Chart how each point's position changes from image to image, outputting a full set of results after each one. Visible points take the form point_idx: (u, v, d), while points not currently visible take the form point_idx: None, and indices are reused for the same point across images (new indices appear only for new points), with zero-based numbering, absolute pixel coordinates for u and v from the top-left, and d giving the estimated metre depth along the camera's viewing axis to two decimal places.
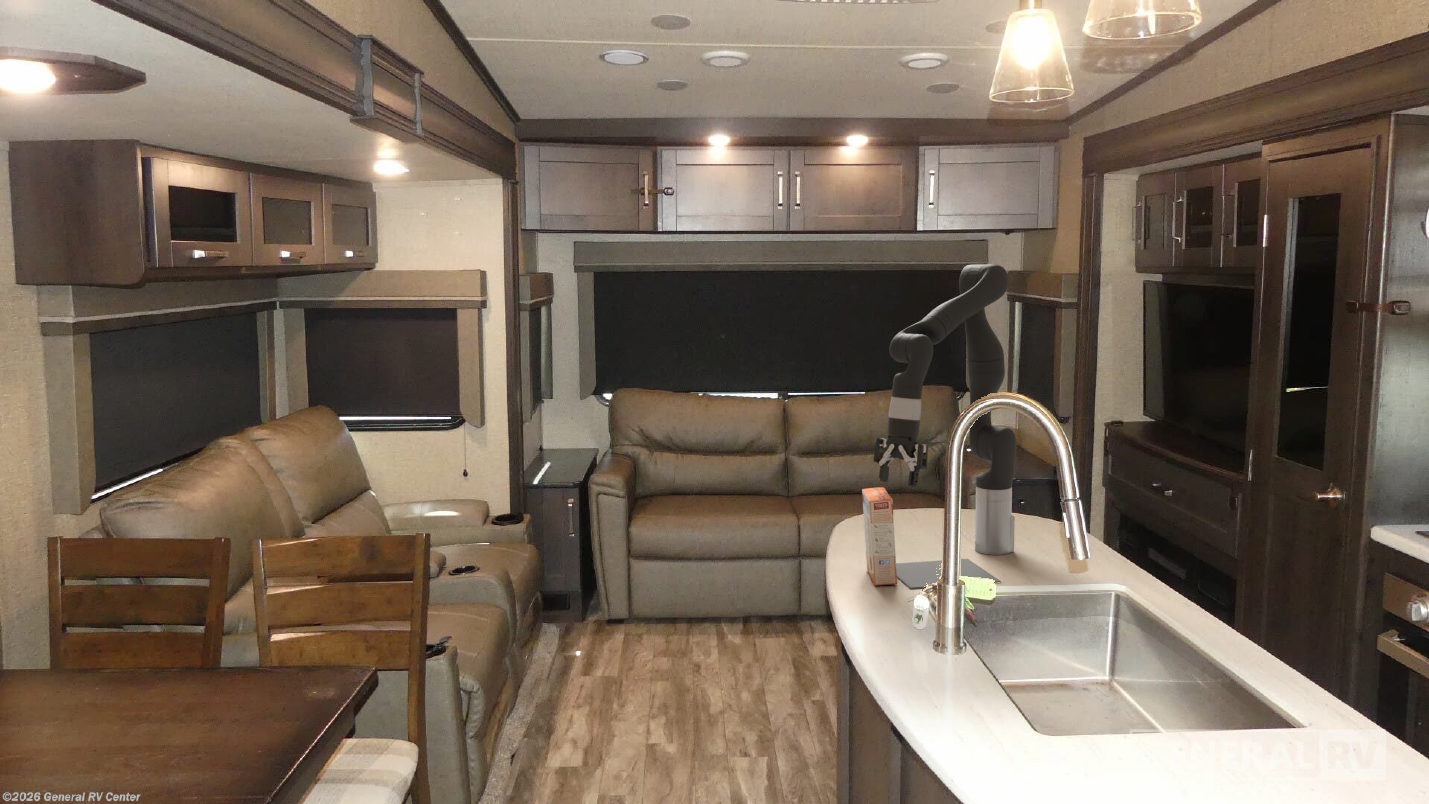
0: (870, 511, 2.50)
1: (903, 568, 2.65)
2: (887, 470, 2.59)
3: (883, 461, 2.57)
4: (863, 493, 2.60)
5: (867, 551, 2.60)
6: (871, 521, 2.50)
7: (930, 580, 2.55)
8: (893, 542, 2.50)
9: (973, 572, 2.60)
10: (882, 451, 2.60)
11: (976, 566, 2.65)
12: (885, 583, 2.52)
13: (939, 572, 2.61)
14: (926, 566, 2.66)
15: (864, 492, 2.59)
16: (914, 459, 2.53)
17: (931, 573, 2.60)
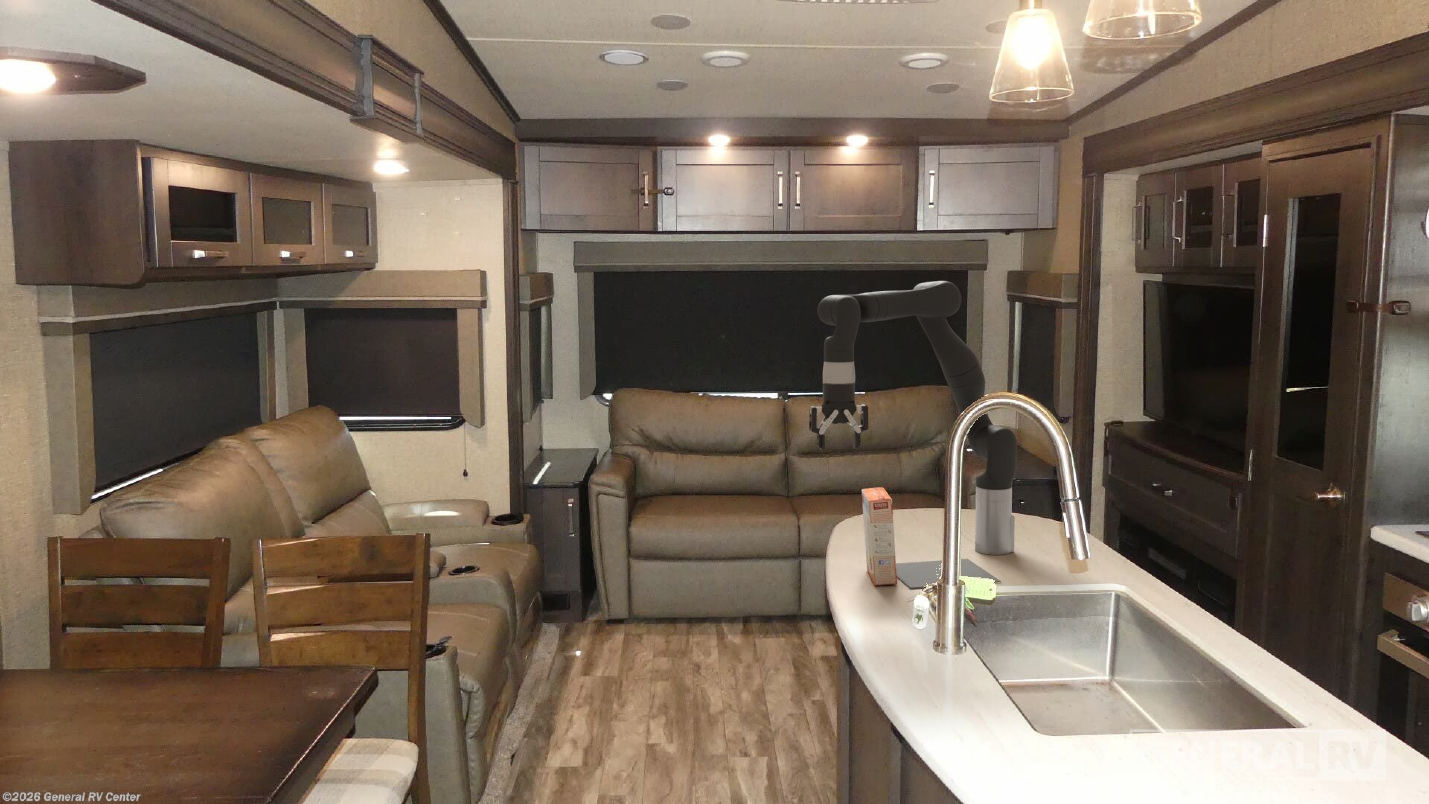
0: (870, 511, 2.50)
1: (903, 568, 2.65)
2: None
3: (824, 429, 2.50)
4: (863, 493, 2.60)
5: (867, 551, 2.60)
6: (871, 521, 2.50)
7: (930, 580, 2.55)
8: (893, 542, 2.50)
9: (973, 572, 2.60)
10: None
11: (976, 566, 2.65)
12: (885, 583, 2.52)
13: (939, 572, 2.61)
14: (926, 566, 2.66)
15: (864, 492, 2.59)
16: None
17: (931, 573, 2.60)
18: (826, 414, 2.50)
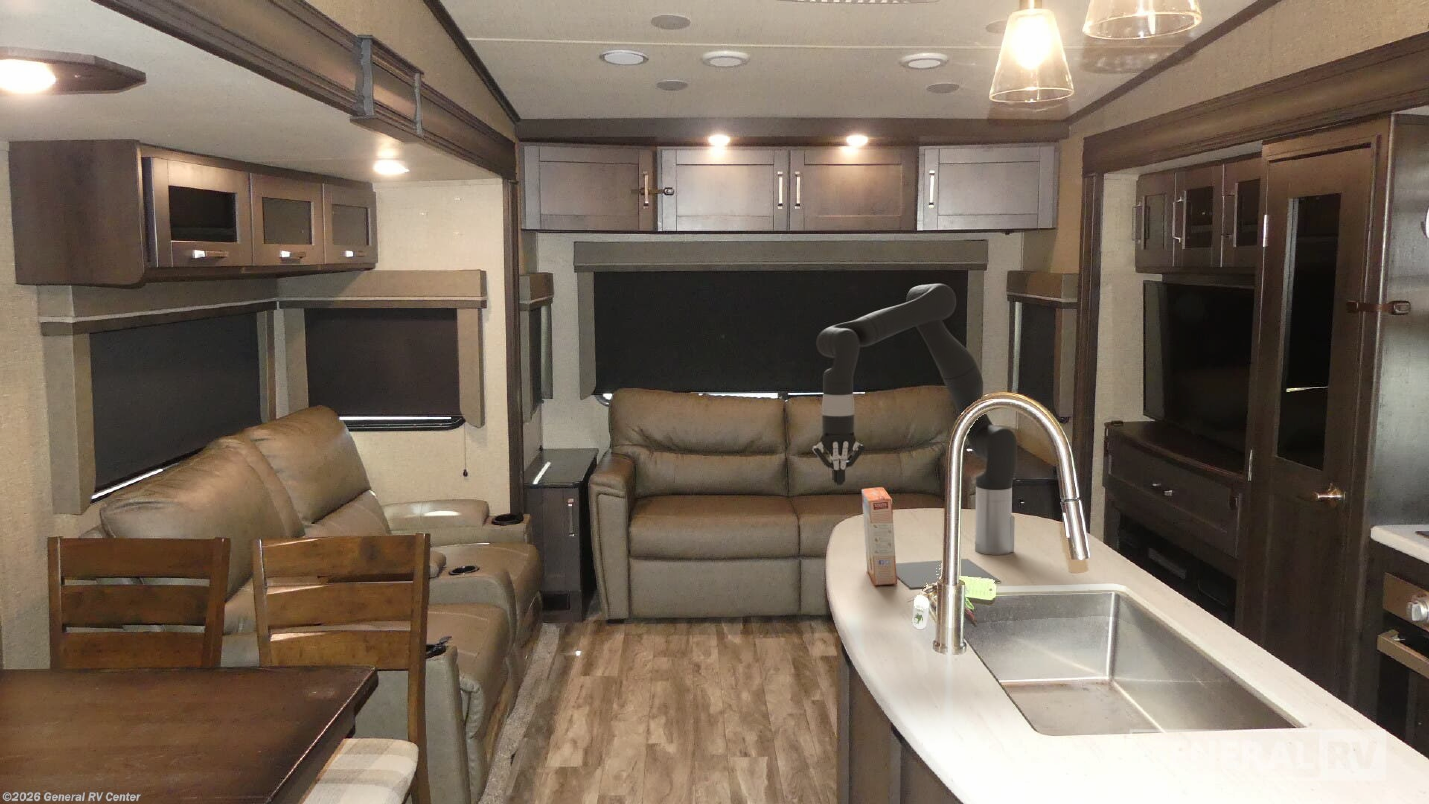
0: (870, 511, 2.50)
1: (903, 568, 2.65)
2: None
3: (837, 463, 2.52)
4: (863, 493, 2.60)
5: (867, 551, 2.60)
6: (871, 521, 2.50)
7: (930, 580, 2.55)
8: (893, 542, 2.50)
9: (973, 572, 2.60)
10: None
11: (976, 566, 2.65)
12: (885, 583, 2.52)
13: (939, 572, 2.61)
14: (926, 566, 2.66)
15: (863, 492, 2.59)
16: None
17: (931, 573, 2.60)
18: (829, 450, 2.51)
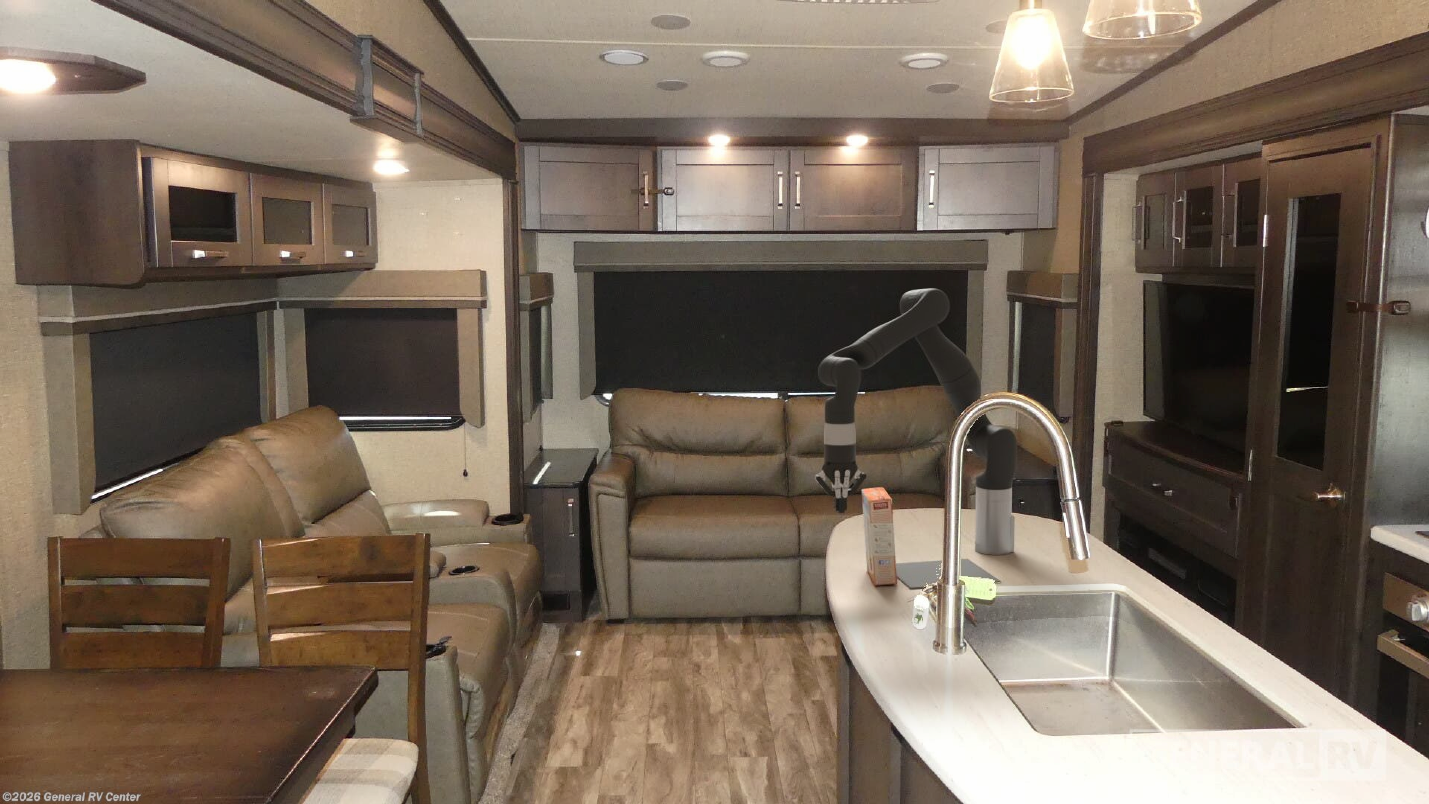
0: (870, 511, 2.50)
1: (903, 568, 2.65)
2: None
3: (838, 492, 2.53)
4: (863, 493, 2.60)
5: (867, 551, 2.60)
6: (871, 521, 2.50)
7: (930, 580, 2.55)
8: (893, 542, 2.50)
9: (973, 572, 2.60)
10: None
11: (976, 566, 2.65)
12: (885, 583, 2.52)
13: (939, 572, 2.61)
14: (926, 566, 2.66)
15: (863, 492, 2.59)
16: None
17: (931, 573, 2.60)
18: (831, 479, 2.52)
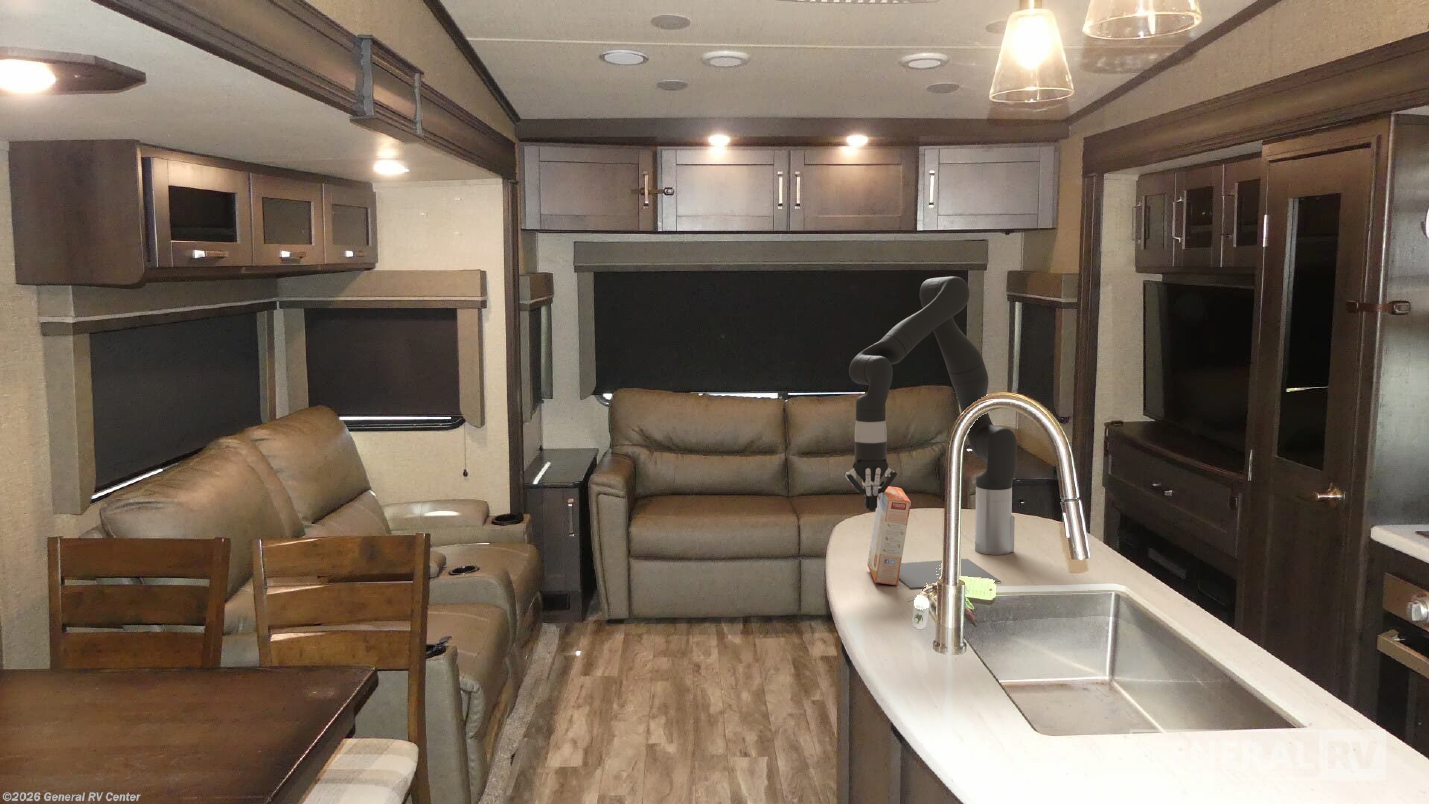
0: (887, 509, 2.49)
1: (903, 568, 2.65)
2: None
3: (869, 490, 2.54)
4: None
5: (872, 547, 2.59)
6: (885, 519, 2.49)
7: (930, 580, 2.55)
8: (902, 544, 2.50)
9: (973, 572, 2.60)
10: None
11: (976, 566, 2.65)
12: (886, 582, 2.52)
13: (939, 572, 2.61)
14: (926, 566, 2.66)
15: None
16: None
17: (931, 573, 2.60)
18: (861, 477, 2.53)
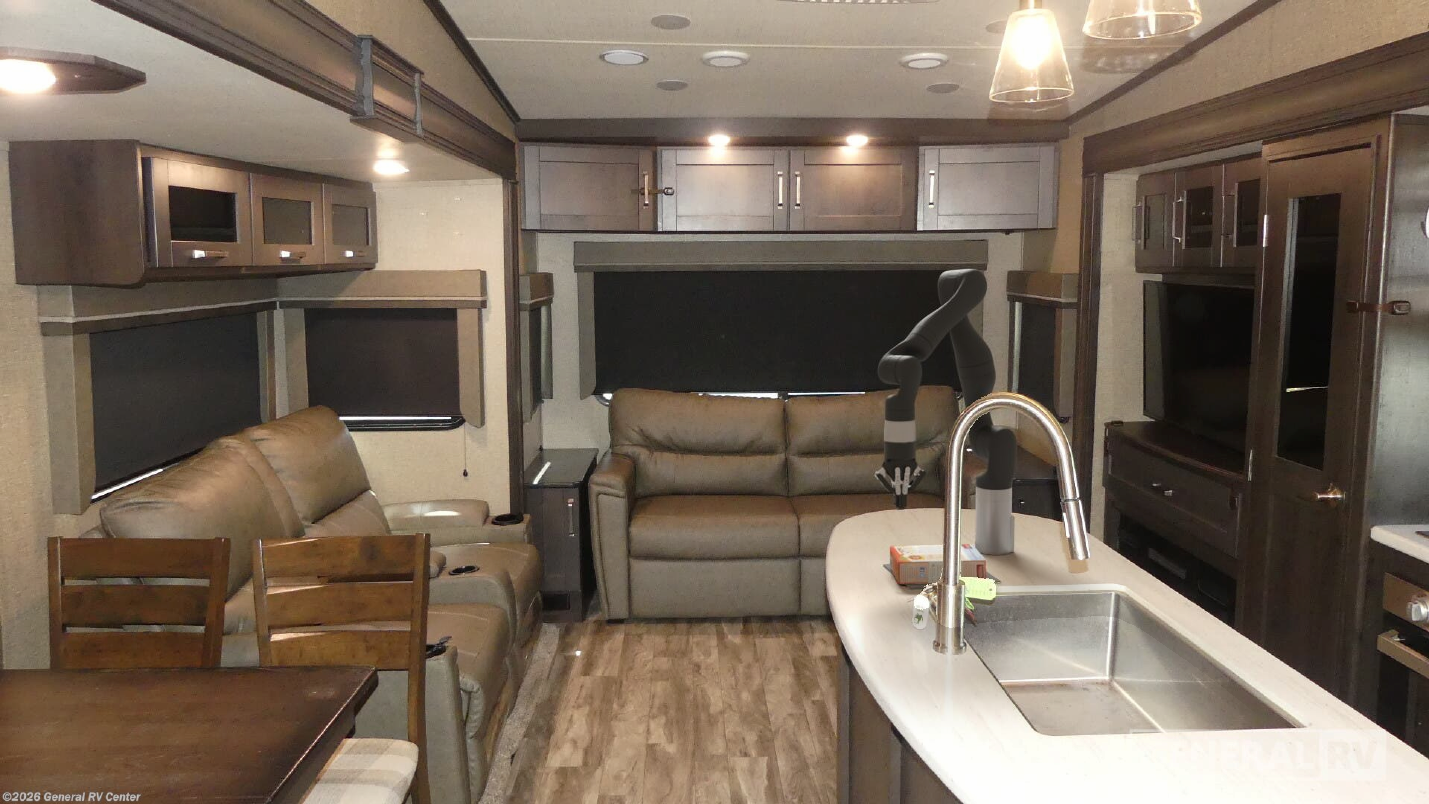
0: (975, 561, 2.51)
1: None
2: None
3: (898, 488, 2.55)
4: (973, 547, 2.61)
5: (917, 550, 2.59)
6: (964, 561, 2.51)
7: None
8: None
9: None
10: None
11: None
12: (900, 572, 2.51)
13: None
14: None
15: (976, 549, 2.60)
16: None
17: None
18: (891, 476, 2.55)
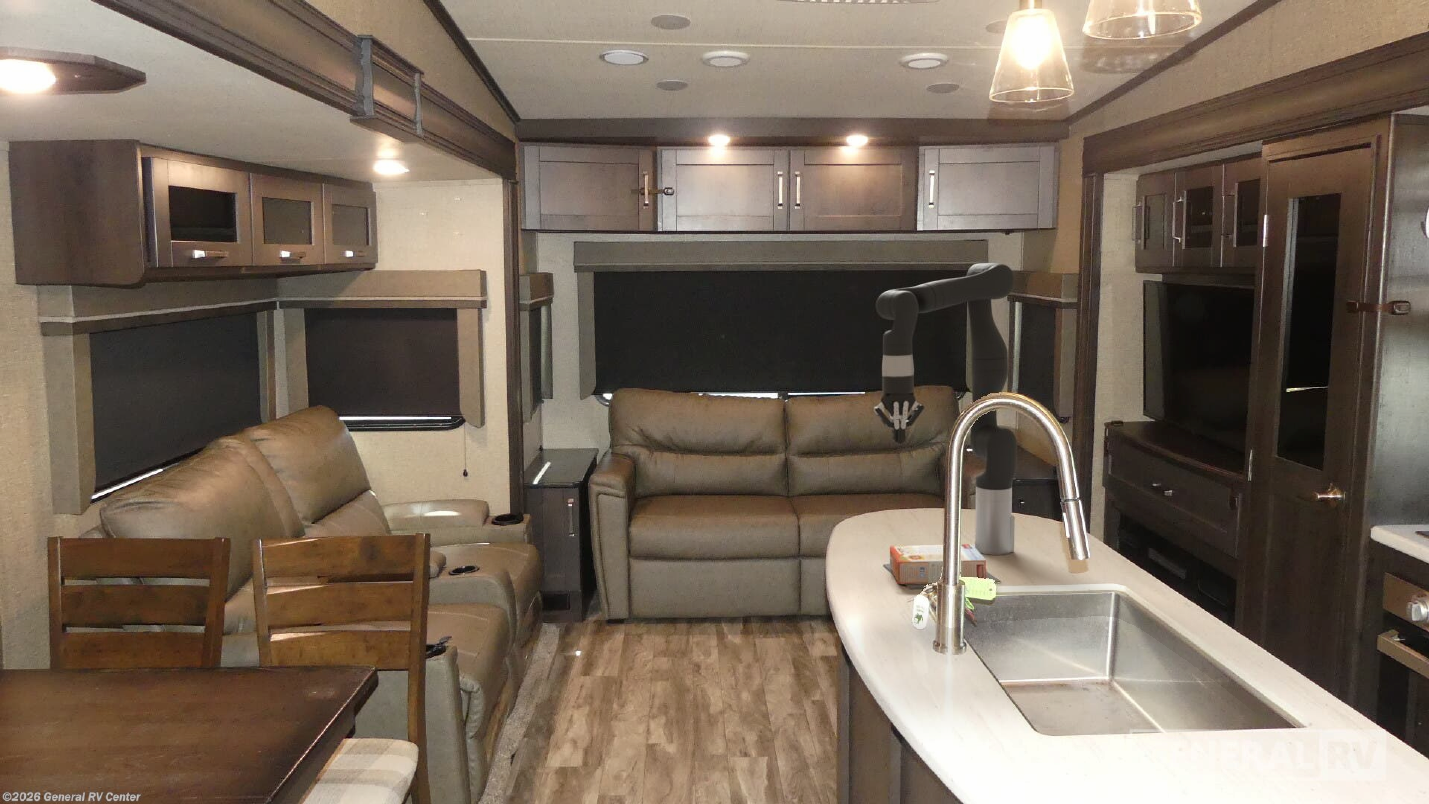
0: (975, 561, 2.51)
1: None
2: None
3: (897, 423, 2.59)
4: (973, 547, 2.61)
5: (917, 550, 2.59)
6: (964, 561, 2.51)
7: None
8: None
9: None
10: None
11: None
12: (900, 572, 2.51)
13: None
14: None
15: (976, 549, 2.60)
16: None
17: None
18: (890, 410, 2.58)
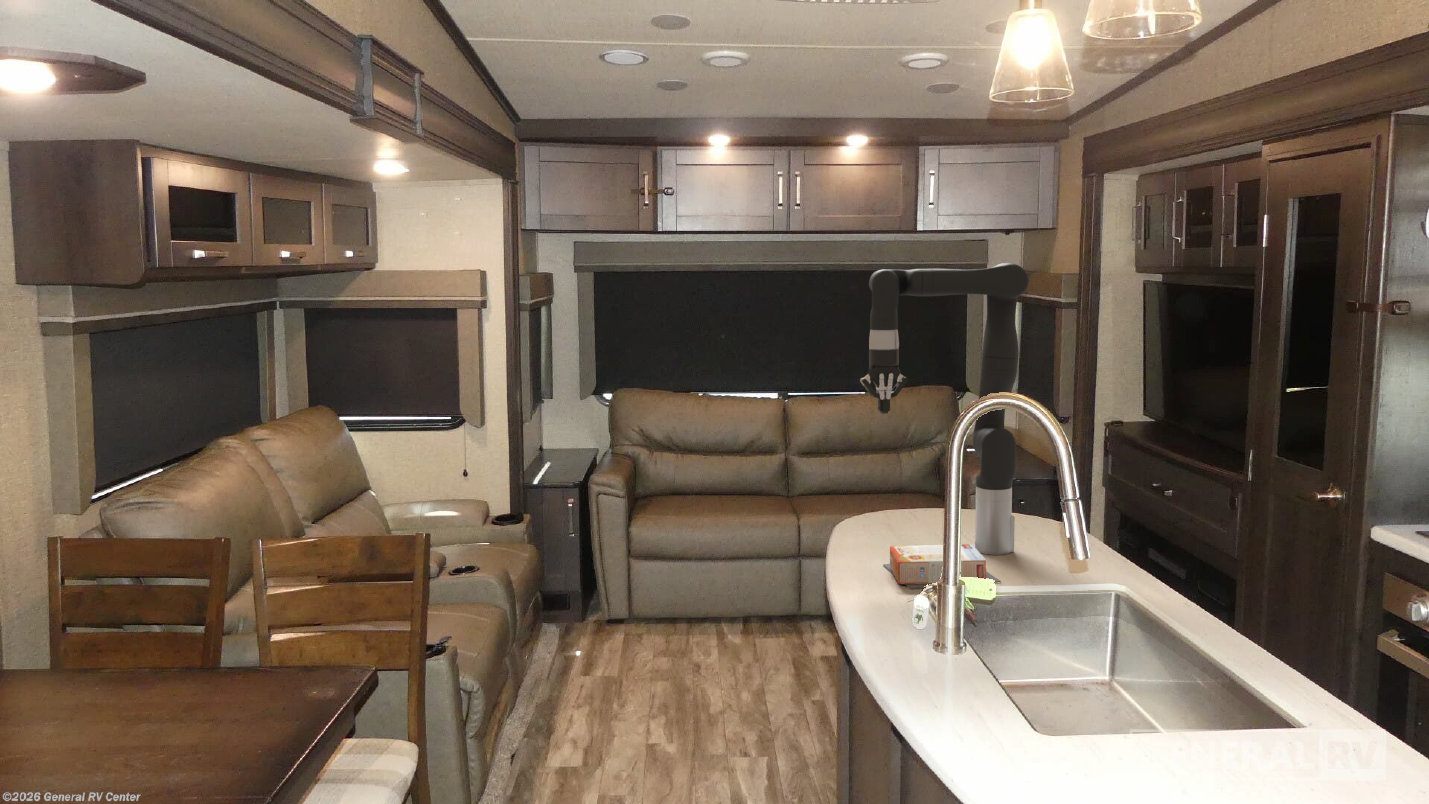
0: (975, 561, 2.51)
1: None
2: None
3: (882, 394, 2.76)
4: (973, 547, 2.61)
5: (917, 550, 2.59)
6: (964, 561, 2.51)
7: None
8: None
9: None
10: None
11: None
12: (900, 572, 2.51)
13: None
14: None
15: (976, 549, 2.60)
16: None
17: None
18: (875, 382, 2.75)
